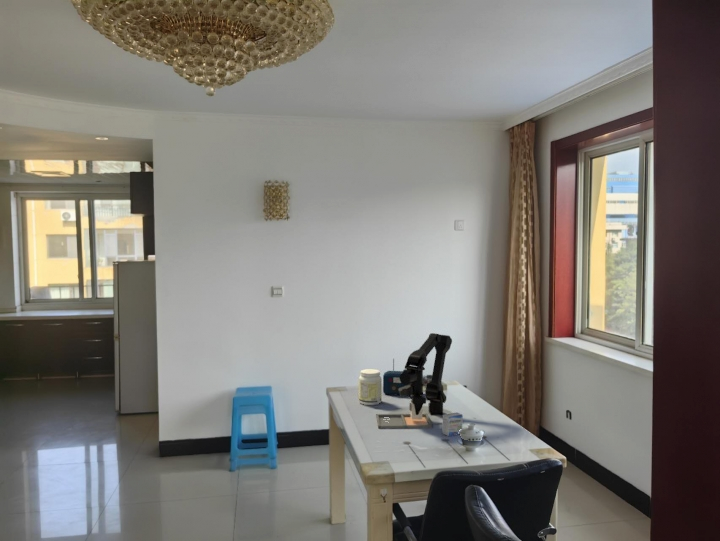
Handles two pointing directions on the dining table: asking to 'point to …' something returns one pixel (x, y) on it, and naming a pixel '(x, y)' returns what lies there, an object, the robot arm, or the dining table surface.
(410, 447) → the dining table surface
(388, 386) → the radio
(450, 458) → the dining table surface
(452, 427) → the medicine box
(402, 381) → the robot arm
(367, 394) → the supplement tub
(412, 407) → the plug
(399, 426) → the dock
